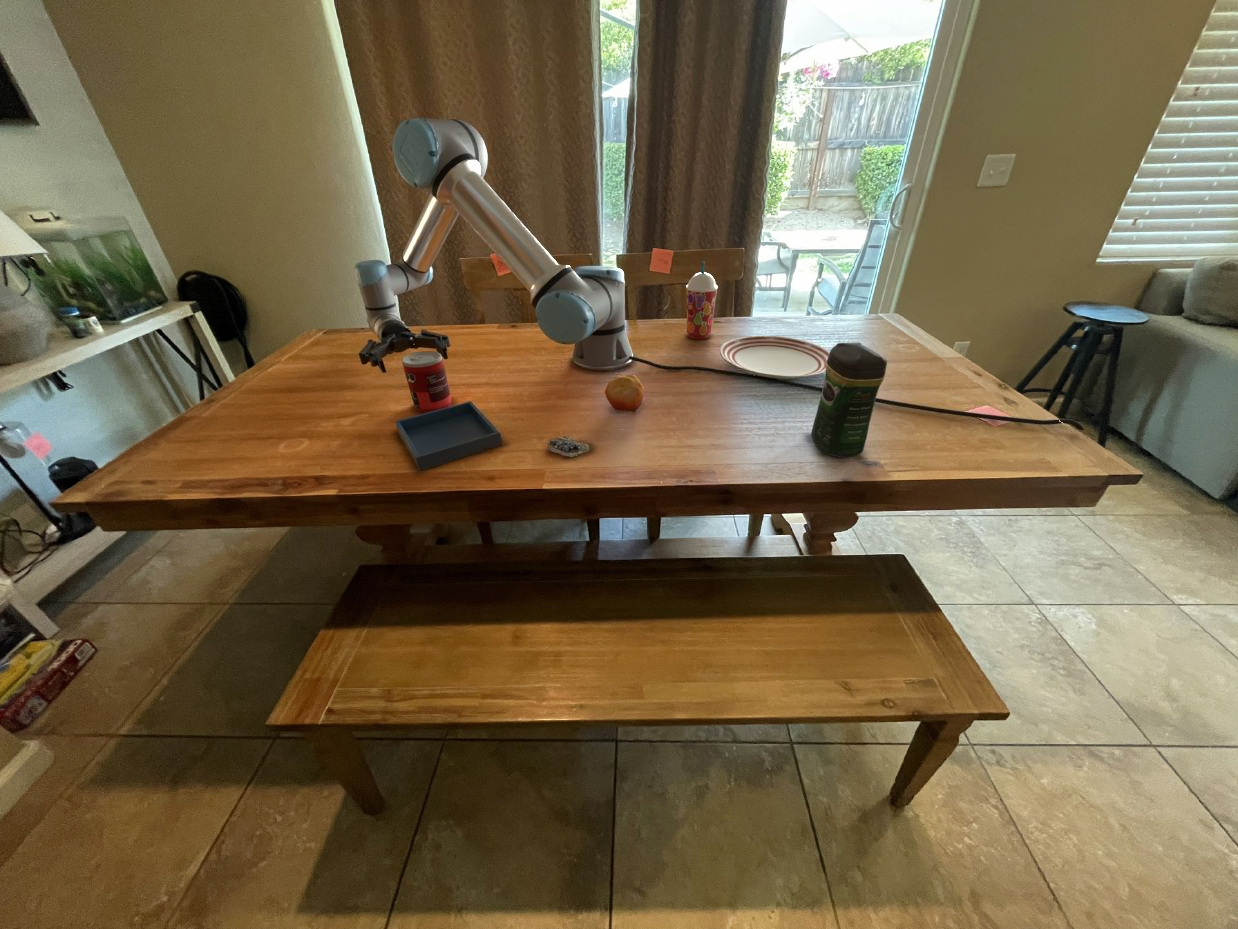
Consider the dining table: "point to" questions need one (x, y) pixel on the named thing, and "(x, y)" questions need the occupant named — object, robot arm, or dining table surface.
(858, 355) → the coffee jar
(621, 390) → the fruit
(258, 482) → the dining table surface
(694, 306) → the smoothie
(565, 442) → the grey mineral rock
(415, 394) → the canned food
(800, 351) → the dinner plate
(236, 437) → the dining table surface
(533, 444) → the dining table surface
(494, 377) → the dining table surface
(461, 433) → the tray
